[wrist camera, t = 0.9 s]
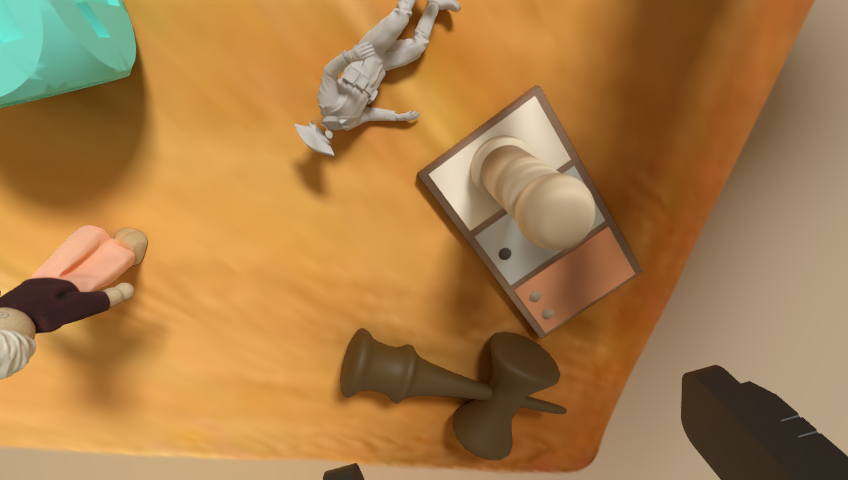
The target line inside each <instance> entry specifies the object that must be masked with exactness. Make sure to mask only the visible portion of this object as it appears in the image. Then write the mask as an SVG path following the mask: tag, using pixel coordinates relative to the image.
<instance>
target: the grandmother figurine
mask: <svg viewBox="0 0 848 480" xmlns="http://www.w3.org/2000/svg"><path fill="white" fill-rule="evenodd" d="M146 247H147V239H146V237H145V235H144V234H143V233H142V232H140V231H138V230H135V229H131V228H124V229H121V230H119V231H118V232H117V233H116V235H115V238H114V239H112V238H111V237H110V236H109V235H108V234H107V232H106V231H105V230H103V229H101V228H99V227H96V226H92V225H86V226H82V227H80V228H79V229H77V230H76V231H75V232H74V233H73V234H71V235H70V236H69V237H68V238H67V239H66V241H65V242H64V243H63V244H62V245H61V246H60V247H59V248H58V249H57V250H56V251H55V252H54V253H53V254H52V255H51V257H50V258H49V259H47V260H46V261H45V262H44V263H43V264H42V265H41V267H40V268H39V269H38V270H37V271H36V272H35V273H34V274H33V276H32V277H31V278H30V279H28V280H26V281H24V282H22V283H21V285H19V286H17V287H16V288H14V289H13V290H11V291H9V292H8V293H6V294H5V295H3V296H2V297H0V379H4V378H7V377H10V376H12V375H13V374H14V373H16V372H18V371H20V370H21V369H23V368H24V366H25V365H26V364H27V363H28V362H29V358H30V357H32V355H33V354H34V353H35V350H36V343H35V341H34V338H35V334H37V333H45V332H52V331H55V330H57V329H58V328H60V327H61V326H62V325H64V324H68V323H72V322H75V321H78V320H81V319H84V318H87V317H89V316H92V315H95V314H98V313H101V312H104V311H106V310H108V309H109V308H110V307H112V306H114V305H117V304H118V303H120V302H121V301H122V300H127V299H130V298H131V297H132V296H133V295H134V291H135V290H134V287H133V286H132V285H131V284H129V283H120V284H118V285H117V286H115V287H114V288H113V287H112V288H108V289H105V290H103V291H96V290H98V289H100V288H102V287H105V286H107V285H109V284H110V283H112V282H113V281H115V280H116V279H117V278H118V277H119V276H120V275H121V274H123V273H124V272H125V271H126V270H127V269H128V268H129V267H131V266H132V265H137V264H139V263H140V262H141V261H142V259H143V256H144V253H145V250H146ZM93 291H94V292H93ZM0 295H1V291H0Z"/></svg>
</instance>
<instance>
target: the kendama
mask: <svg viewBox="0 0 848 480" xmlns="http://www.w3.org/2000/svg"><path fill="white" fill-rule="evenodd" d="M490 350H491V356H492V362H493V375H492V378H491V380H490V382H489V384H488V385H487V384H484V383H480V382H477V381H475V380H472V379H469V378H466V377H464V376H461V375H458V374H456V373H453V372H451V371H448V370H446V369H443V368H441V367H439V366H436V365H434V364H432V363H430V362H428V361H426V360H424V359H423V358H421V357H420V356H419V355H418V354H417V353H416V351H415V349H414V347H413V346H412V345H409V344H407V345H404V346H402V347H392V346H388V345H385V344H383V343H380V342H378V341H376V340H375V339H374V338H373V337H372V336H371V334H370V333H369V331H367V330H366V329H363V328H361V329H359V330H358V331H357V332H356V333H355V335H354V336H353V337H352V339H351V341H350V343H349V345H348V348H347V351H346V355H345V358H344V361H343V366H342V371H341V377H340V384H341V391H342V393H343V395H344V397H347V398H348V397H351V396H353V395H355V394H356V393H358V392H360V391H376V392H381V393H384V394H386V395H388V396H389V397H390V398H391V400H392V401H393V402H394V403H396V404H398V403H400V402H401V401H402V400H403V399H405V398H407V397H411V396H445V397H458V398H468V399H474V400H473V401H471V402H469V403H467V404H465V405H463V406H461V407H459V408H458V409H457V411H456V412H455V414H454V416H453V429H454V432H455V434H456V437H457V439H458V440H459V441H460V443H461V444H462V445H463V446H464V448H465V449H467V450H468V451H470V452H471V453H473V454H474V455H476V456H478V457H481V458H484V459H487V460H501V459H503V458H505V457H507V456H509V454H510V451H511V448H512V430H511V421H512V418H513V416H514V414H515V412H516V410H517V409H518V407H523V408H528V409H533V410H538V411H543V412H549V413H555V414H565V413H566V412H567V410H566V409H565V408H564V407H561V406H559V405H556V404H553V403H550V402H546V401H542V400H539V399H535V398H532V397H528V396H529V395H530V394H533V393H535V392H537V391H540V390H543V389H546V388H548V387H551V386H553V385H555V384H557V383H558V380H559V376H560V372H559V369H558V366H557V364H556V362H555V361H554V360H553V358H552V357H551V356H550V354H549V353H548V352H547V351H546V350H544V349H543V348H542V347H541V346H540V345H538V344H537V343H535V342H533V341H532V340H530V339H528V338H526V337H523V336H520V335H518V334H513V333H506V332H501V333H495V334H494V335H493V337H492V339H491V340H490Z"/></svg>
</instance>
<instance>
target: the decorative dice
mask: <svg viewBox="0 0 848 480" xmlns="http://www.w3.org/2000/svg"><path fill="white" fill-rule="evenodd" d="M135 58H136V42H135V36H134V32H133V28H132V24H131V21H130V18H129V15H128V12H127V10H126V7H125V5H124V2H123V0H0V108H3V107H7V106H12V105H16V104H21V103H25V102H29V101H34V100H38V99H42V98H47V97H51V96H55V95H59V94H63V93H67V92H72V91H76V90H80V89H84V88H88V87H91V86H95V85H99V84H103V83H107V82H110V81H114V80H118V79H121V78H124V77H127V76H129V75H130V72H131V70H132V67H133V64H134V62H135Z"/></svg>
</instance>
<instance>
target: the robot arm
mask: <svg viewBox="0 0 848 480" xmlns="http://www.w3.org/2000/svg"><path fill="white" fill-rule="evenodd" d="M681 405H682V406H681V420H682V425H683V428H684V430H685V433H686V435H687V437H688V438H689V440H690V442H691V443H692V445H693V446H694V447H695V448H696V450H697V451H698V452H699V453H700V455H701V456H702V457H703V458H704V459H705V461H706V462H707V463H708V464H709V466H710V467H711V468H712V469H713V471H714V472H715V473H716V474H717V475H718V477H719V478H720V479H721V480H848V456H847V455H845V454H844V453H843V452H842V451H841V450H840V449H838V448H837V447H836V446H835V445H834V444H833V443H832V442H830V441H829V440H828V439H827V438H826V437H824V435H822V434H819V433H818V432H817V430H816V429H815V428H814V427H813V426H812V425H811V424H810V423H809V422H807V421H806V420H805V419H804V418H803V417H802V418H800V417H799V415H798V413H797V412H796V411H795V410H793V409H792V408H791V407H790V406H789V405H788V404H787V403H785V402H784V401H783V400H782V399H781V398H780V397H778V396H777V395H776V394H774V393H772V392H770V391H768V390H766V389H764V388H762V387H760V386H758V385H756V384H754V383H752V382H750V381H748V382H745V383H741V384H740V383H739V382H738V381H737V380H736V379H735V378H734V377H733V376H732V375H730V374H729V373H728V372H727V371H726V370H725V369H724V368H722V367H720V366H718V365H713V366H710V367H706V368H702V369H699V370H695V371H691V372H688V373H685V374H684V375H683V377H682V402H681ZM323 480H364V478H363V475H362V473H361V471H360V468H359V466H358V465H357V464H356V463H354V464H351V465H347V466H343V467H340V468H336V469H333V470H329V471H326V472H325V473H324V476H323Z"/></svg>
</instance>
